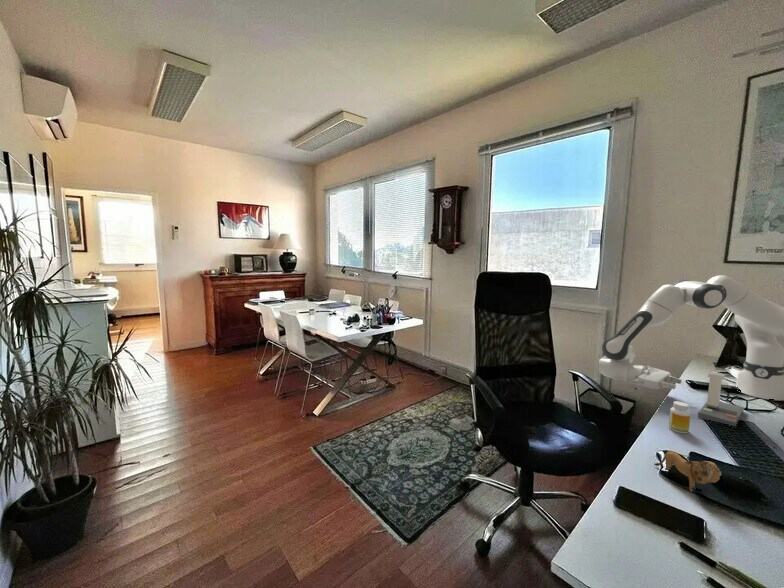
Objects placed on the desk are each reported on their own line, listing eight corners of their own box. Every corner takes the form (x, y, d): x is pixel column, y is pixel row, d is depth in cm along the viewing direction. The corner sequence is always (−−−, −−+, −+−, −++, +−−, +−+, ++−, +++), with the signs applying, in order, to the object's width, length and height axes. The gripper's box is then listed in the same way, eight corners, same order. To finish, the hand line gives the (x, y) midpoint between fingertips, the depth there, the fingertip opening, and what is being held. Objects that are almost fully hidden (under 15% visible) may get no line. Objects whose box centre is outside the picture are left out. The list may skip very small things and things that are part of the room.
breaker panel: (708, 403, 138) (709, 398, 138) (743, 412, 130) (743, 407, 130) (697, 417, 126) (698, 411, 126) (735, 427, 118) (735, 422, 118)
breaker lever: (706, 403, 132) (710, 371, 131) (720, 407, 129) (724, 374, 128) (704, 405, 130) (708, 373, 129) (718, 409, 127) (722, 376, 126)
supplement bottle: (692, 434, 114) (695, 407, 113) (674, 433, 115) (677, 406, 114) (682, 426, 119) (684, 401, 118) (665, 425, 120) (667, 399, 119)
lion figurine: (723, 498, 83) (727, 465, 82) (709, 503, 81) (713, 469, 81) (659, 464, 97) (662, 435, 96) (647, 468, 95) (649, 438, 94)
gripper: (631, 372, 142) (672, 382, 131) (646, 364, 154) (685, 372, 143) (630, 387, 143) (670, 397, 132) (645, 377, 155) (683, 386, 144)
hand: (678, 384), depth 138 cm, fingers open, 8 cm apart
